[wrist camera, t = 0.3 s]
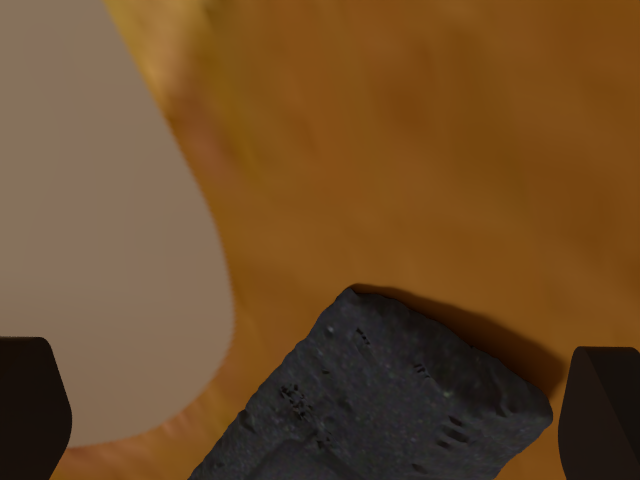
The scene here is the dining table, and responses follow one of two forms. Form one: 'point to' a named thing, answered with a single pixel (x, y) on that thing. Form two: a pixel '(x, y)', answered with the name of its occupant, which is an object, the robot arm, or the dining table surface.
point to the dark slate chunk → (380, 405)
